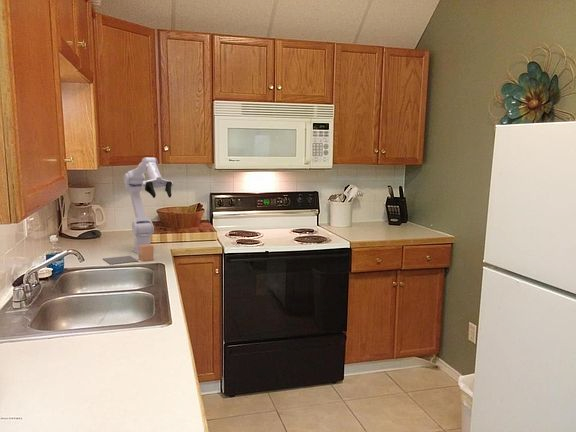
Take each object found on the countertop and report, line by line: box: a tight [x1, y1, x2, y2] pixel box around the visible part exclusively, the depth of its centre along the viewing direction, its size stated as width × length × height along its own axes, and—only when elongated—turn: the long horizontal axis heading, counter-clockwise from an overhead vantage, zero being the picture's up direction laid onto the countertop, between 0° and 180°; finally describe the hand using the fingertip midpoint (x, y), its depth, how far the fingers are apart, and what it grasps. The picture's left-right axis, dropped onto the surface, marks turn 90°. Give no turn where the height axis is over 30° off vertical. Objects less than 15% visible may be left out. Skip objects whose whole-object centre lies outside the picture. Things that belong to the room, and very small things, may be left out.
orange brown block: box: [138, 244, 154, 262], centre depth 221 cm, size 5×5×7 cm
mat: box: [102, 255, 139, 265], centre depth 219 cm, size 13×13×1 cm
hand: (162, 196), depth 213 cm, fingers open, 7 cm apart
